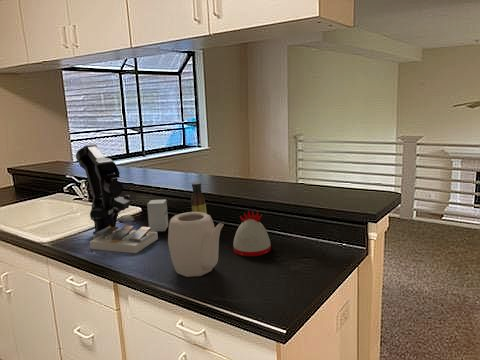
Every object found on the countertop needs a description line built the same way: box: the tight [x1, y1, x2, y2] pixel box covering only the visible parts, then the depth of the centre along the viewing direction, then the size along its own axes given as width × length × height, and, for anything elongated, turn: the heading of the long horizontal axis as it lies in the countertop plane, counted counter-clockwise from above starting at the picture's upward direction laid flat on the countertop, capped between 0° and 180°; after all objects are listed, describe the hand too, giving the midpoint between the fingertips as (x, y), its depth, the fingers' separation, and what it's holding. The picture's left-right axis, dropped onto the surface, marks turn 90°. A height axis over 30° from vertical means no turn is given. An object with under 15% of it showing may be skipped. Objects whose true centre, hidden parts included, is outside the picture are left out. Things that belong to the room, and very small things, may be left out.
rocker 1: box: [94, 226, 119, 236], centre depth 165 cm, size 4×9×2 cm, turn 160°
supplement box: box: [146, 198, 169, 232], centre depth 179 cm, size 7×7×13 cm
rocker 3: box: [129, 226, 151, 241], centre depth 159 cm, size 4×9×2 cm, turn 161°
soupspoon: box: [118, 214, 135, 224], centre depth 200 cm, size 22×3×7 cm
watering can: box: [167, 211, 224, 278], centre depth 131 cm, size 16×27×19 cm, turn 47°
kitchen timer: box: [232, 210, 272, 257], centre depth 150 cm, size 14×14×15 cm
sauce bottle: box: [190, 181, 208, 214], centre depth 179 cm, size 6×6×20 cm
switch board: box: [89, 228, 159, 254], centre depth 163 cm, size 23×16×4 cm
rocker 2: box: [112, 224, 135, 239], centre depth 162 cm, size 4×9×2 cm, turn 160°
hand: (113, 227), depth 169 cm, fingers closed, pressing on rocker 1
